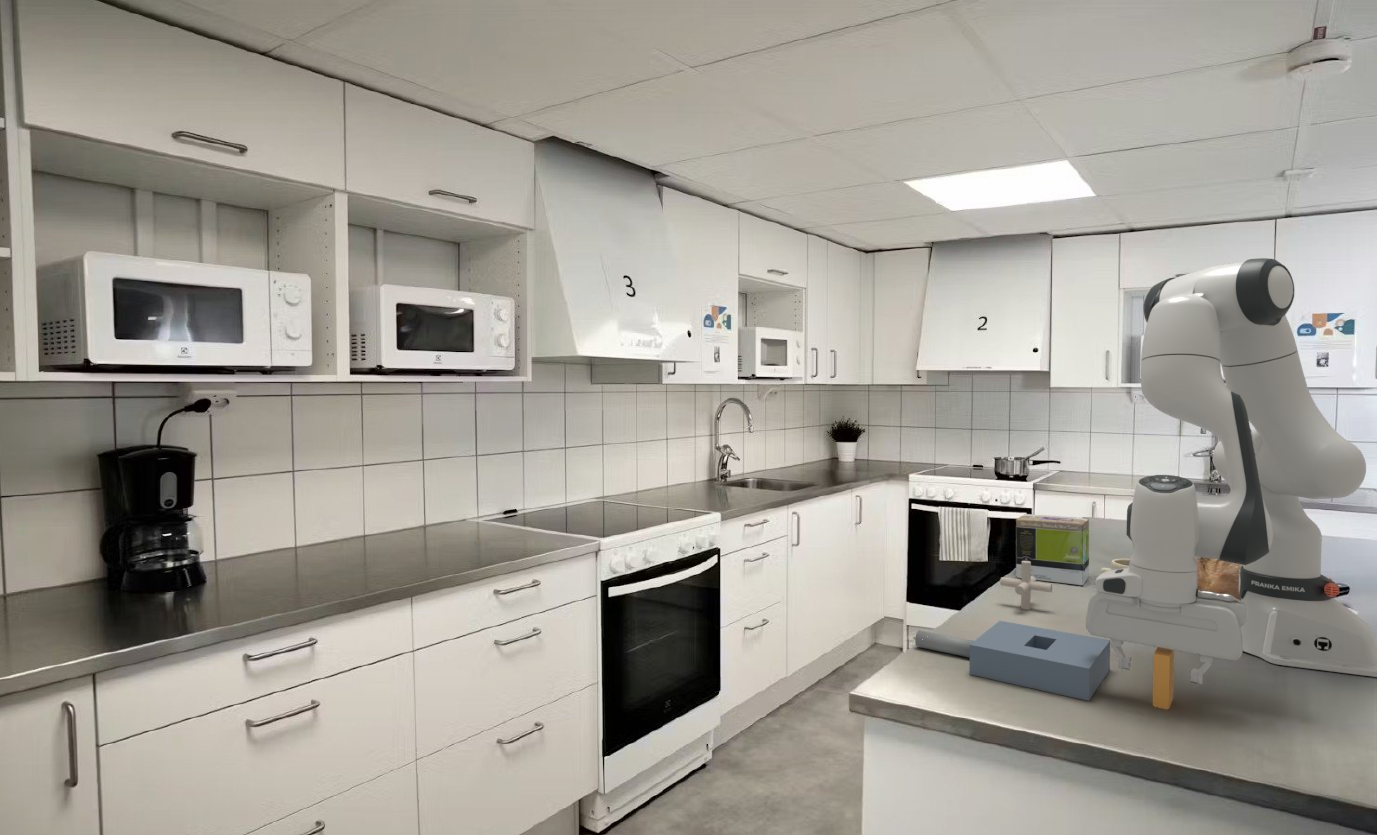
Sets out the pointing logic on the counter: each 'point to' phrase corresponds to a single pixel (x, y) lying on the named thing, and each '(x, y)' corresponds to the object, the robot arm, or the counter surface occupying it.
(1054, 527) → the tea box
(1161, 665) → the orange rectangular block
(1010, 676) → the blue holed block
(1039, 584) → the pipe connector
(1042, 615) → the counter surface
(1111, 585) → the robot arm
